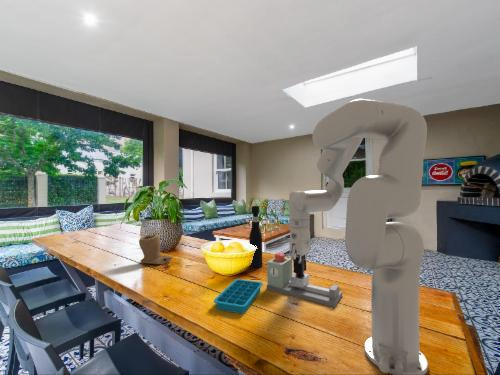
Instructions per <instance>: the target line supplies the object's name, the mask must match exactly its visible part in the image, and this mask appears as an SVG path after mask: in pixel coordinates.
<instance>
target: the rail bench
mask: <svg viewBox="0 0 500 375" xmlns="http://www.w3.org/2000/svg"><path fill="white" fill-rule="evenodd" d="M266 267H267V268H266V280H267V281H266V282H267V283H266V290H270V291H273V292H277V293H281V294H285V295H288V296H292V297H295V298H298V299H303V300H305V301H310V302H314V303H318V304H322V305H325V306H329V307H333V308H336V306H337V304H338V303H339V302H340V300H341V298H342V297H343V291H342V290H340V285H338V284H332V285H331V286H330V288H329V287H324V286H320V285H316V284H312V283H308V284H307V285H306V286H305V290H304V289H300V288H296V287H292V285H291V276H292V275H293V259H292V258H291V257H286V256H285V262H283V263H281V262H276V261H275V257H274V258H271V259H269V260H268V261H266Z"/></svg>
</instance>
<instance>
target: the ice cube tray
mask: <svg viewBox="0 0 500 375" xmlns="http://www.w3.org/2000/svg"><path fill="white" fill-rule="evenodd" d="M263 285H264V283H263V282H262V281H258V280H257V281H256V280H255V281H254V280H249V279H248V280H247V279H239V278H236V279H234V280H233V281H232V282H231V283H230V284H229V285H228V286H226V288H225V289H223V290H222V292H220V294H218V295H217V296H216V297H215V298H214V299H213V303H214V304H216V309H217V310H222V311H225V312H226V311H227V312H233V313H238V314H244V313H246V312H247V310H248V309H249V307H250V306H251V305H252V303H253V302H254V301H255V299H256V297H257V296H258V295H259V293H260V292H261V288H262V286H263Z"/></svg>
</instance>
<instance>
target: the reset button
mask: <svg viewBox="0 0 500 375" xmlns="http://www.w3.org/2000/svg"><path fill="white" fill-rule="evenodd" d="M285 257H286V255H285V254H284V253H275V254H274V258H275V261H276V262H281V263H283V262H285Z"/></svg>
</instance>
